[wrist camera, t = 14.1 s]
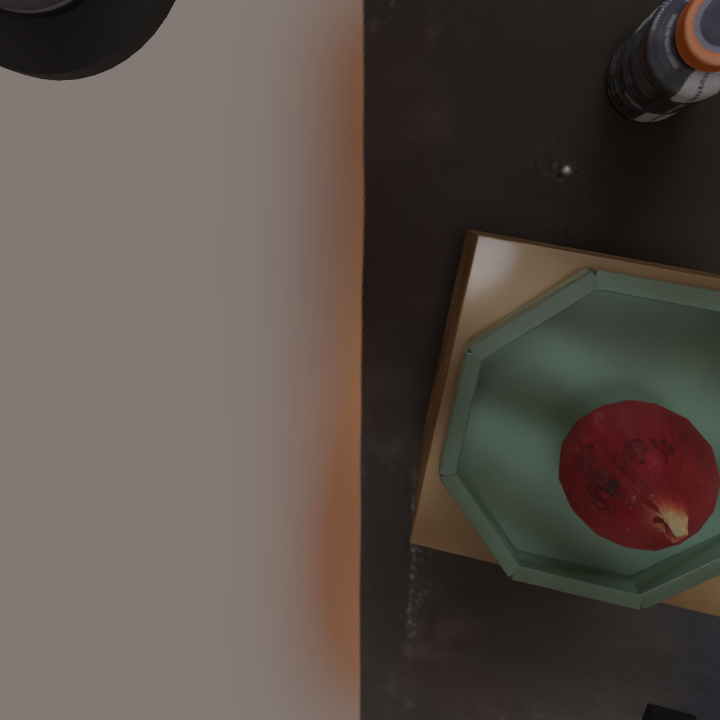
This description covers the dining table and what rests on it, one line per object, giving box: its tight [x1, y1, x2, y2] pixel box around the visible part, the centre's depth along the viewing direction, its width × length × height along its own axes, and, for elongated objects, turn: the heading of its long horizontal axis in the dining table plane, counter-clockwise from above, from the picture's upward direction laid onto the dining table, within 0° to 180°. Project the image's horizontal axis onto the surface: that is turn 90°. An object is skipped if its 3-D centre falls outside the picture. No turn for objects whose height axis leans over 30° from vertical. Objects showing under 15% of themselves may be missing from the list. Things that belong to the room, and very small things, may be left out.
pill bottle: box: [607, 0, 720, 122], centre depth 34 cm, size 6×6×11 cm
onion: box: [559, 400, 720, 551], centre depth 23 cm, size 6×6×8 cm
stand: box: [410, 229, 720, 616], centre depth 35 cm, size 16×16×20 cm
